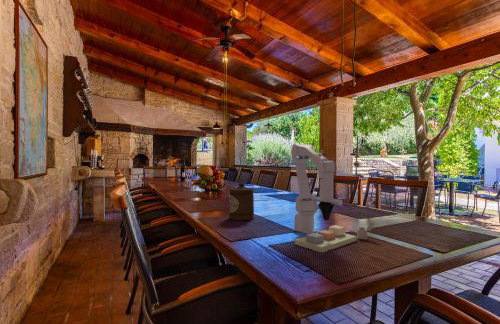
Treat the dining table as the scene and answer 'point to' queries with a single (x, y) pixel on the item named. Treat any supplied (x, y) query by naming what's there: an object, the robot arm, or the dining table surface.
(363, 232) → the lighter
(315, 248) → the panel
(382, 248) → the dining table surface
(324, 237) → the key terracotta
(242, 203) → the wooden container
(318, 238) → the key slate
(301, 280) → the dining table surface
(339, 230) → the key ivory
